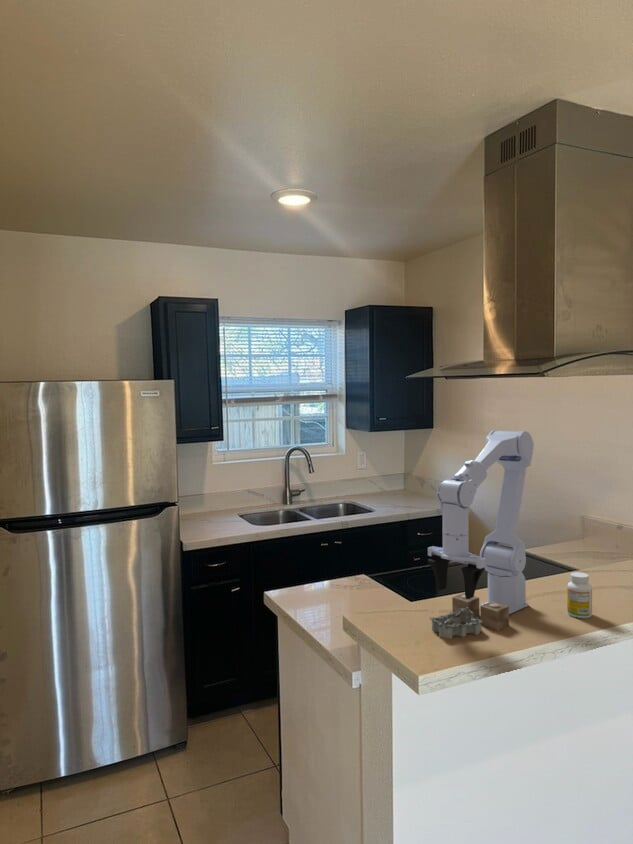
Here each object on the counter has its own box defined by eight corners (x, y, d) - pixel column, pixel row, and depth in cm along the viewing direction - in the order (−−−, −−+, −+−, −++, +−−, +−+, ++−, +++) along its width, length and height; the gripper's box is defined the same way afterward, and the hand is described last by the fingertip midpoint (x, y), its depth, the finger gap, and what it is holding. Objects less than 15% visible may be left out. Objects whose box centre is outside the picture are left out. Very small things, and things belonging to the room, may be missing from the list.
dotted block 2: (492, 619, 139) (491, 600, 139) (508, 625, 135) (508, 605, 135) (480, 625, 136) (480, 605, 136) (497, 630, 133) (497, 610, 132)
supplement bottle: (575, 608, 144) (575, 569, 144) (596, 615, 140) (596, 575, 139) (562, 614, 141) (562, 574, 141) (584, 620, 137) (584, 579, 136)
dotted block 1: (464, 610, 145) (463, 592, 145) (479, 615, 142) (479, 596, 141) (452, 615, 142) (452, 596, 142) (468, 620, 139) (467, 601, 138)
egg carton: (470, 623, 138) (470, 606, 138) (486, 635, 131) (486, 617, 130) (427, 627, 136) (427, 610, 135) (441, 640, 128) (441, 622, 128)
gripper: (419, 530, 135) (419, 589, 136) (471, 542, 124) (471, 605, 125) (438, 526, 140) (438, 582, 140) (491, 536, 128) (491, 598, 129)
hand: (455, 593), depth 133 cm, fingers open, 7 cm apart
